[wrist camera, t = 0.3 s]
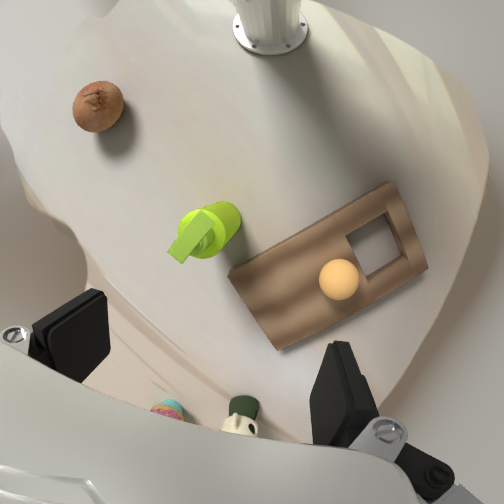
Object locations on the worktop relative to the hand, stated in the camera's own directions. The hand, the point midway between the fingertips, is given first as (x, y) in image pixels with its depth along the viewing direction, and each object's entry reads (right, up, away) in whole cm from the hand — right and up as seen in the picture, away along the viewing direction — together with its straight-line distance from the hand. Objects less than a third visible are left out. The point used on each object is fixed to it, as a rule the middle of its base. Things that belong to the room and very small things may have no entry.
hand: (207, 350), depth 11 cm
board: (+15, +1, +35) cm, 38 cm away
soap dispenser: (-3, +10, +35) cm, 36 cm away
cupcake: (-17, -33, +47) cm, 60 cm away
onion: (-24, +30, +32) cm, 50 cm away
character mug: (0, -29, +44) cm, 53 cm away
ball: (+14, 0, +29) cm, 33 cm away
